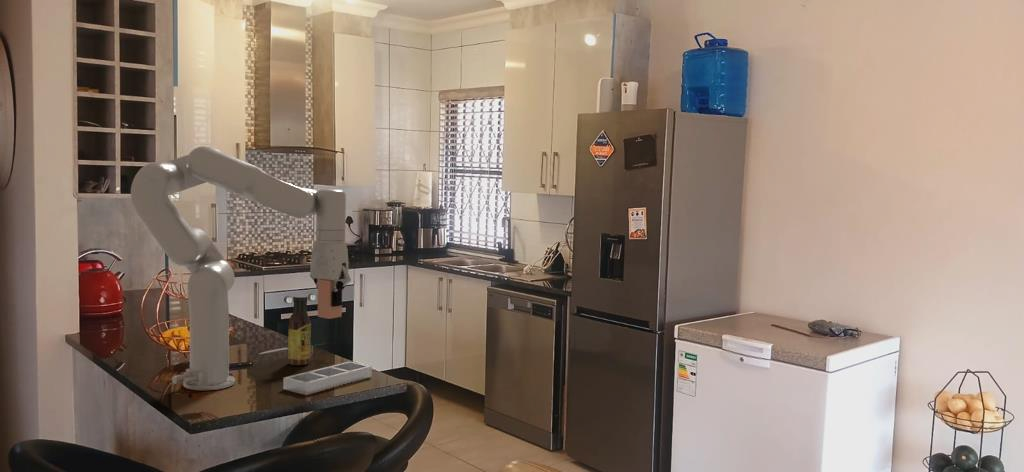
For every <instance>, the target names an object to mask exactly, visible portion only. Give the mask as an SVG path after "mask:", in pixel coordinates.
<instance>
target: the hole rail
mask: <svg viewBox="0 0 1024 472" xmlns="http://www.w3.org/2000/svg"><path fill="white" fill-rule="evenodd" d="M372 367H373V366H372V365H367V364H362V363H358V362H354V361H350V360H349V361H346V362H341V363H338V364H334V365H330V366H325V367H321V368H318V369H313V370H309V371H305V372H301V373H298V374H293V375H289V376H285V377H283V390H286V391H289V392H293V393H296V394H301V395H305V396H308V395H311V394H316V393H318V392H323V391H326V389H327V390H330V389H333V387H334V388H337V387H340V385H341V386H344V385H343V384H345V385H347V383H348V384H350V383H351V382H352V383H355V382H358V381H362V380H366V379H369V378H372V377H373V376H372V375H373V374H372V373H373V372H372V371H373V368H372ZM352 383H351V384H352Z"/></svg>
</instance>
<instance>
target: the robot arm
mask: <svg viewBox="0 0 1024 472" xmlns="http://www.w3.org/2000/svg"><path fill="white" fill-rule="evenodd" d="M205 183H208V184H211V185H212V186H213V185H214V186H216V187H219V188H221V189H224V190H226V191H229V192H230V193H232V194H236V195H238V196H241V197H243V198H245V199H248V200H250V201H253V202H256V203H259V204H260V205H262V206H265V207H268V208H270V209H272V210H274V211H276V212H277V211H278V212H279V213H282V214H285V215H287V216H290V217H292V218H300V219H302V218H305V217H307V216H314V215H315V216H316V217H315V223H316V224H315V240H314V241H313V243H312V244H313V245H312V249H311V255H310V256H311V257H310V271H309V272H310V274H309V276H310V278H311V279H312V280H313V282H314V285H315V289H316V290H318V279H324V280H332V285H333V291H332V303H331V305H332V307H335V306H341V305H342V306H343V292H344V290H345V288H346V286H347V285H349V284H350V282H352V278H351V277H350V275H349V251H348V244H347V242H346V213H347V210H346V209H347V208H346V206H347V203H346V201H347V198H346V197H347V196H346V195H347V194H346V192H345V191H344V190H342V189H334V188H331V189H329V188H327V189H314V188H308V187H299V186H295V185H293V184H292V183H289V182H286V181H283V180H281V179H279V178H276V177H274V176H272V175H270V174H269V173H267V172H265V171H264V170H262V169H261V168H260V167H258V166H256V165H253V164H251V163H249V162H246V161H243V160H242V159H239V158H236V157H234V156H232V155H229V154H226V153H225V152H222V151H220V150H219V149H218V148H215V147H210V146H203V145H202V146H198V147H195V148H193V149H192V150H191V151H190V152H189V153H188V154H186V155H184V156H183V155H182V156H180V157H177V158H174V159H172V160H169V161H153V162H149V163H147V164H145V165H144V166H142V167H141V168H140V169H139V170H138V171H137V173H136V174H135V176H134V178H133V179H132V182H131V187H130V198H131V203H132V206H133V208H134V210H135V212H136V213H137V215H138V217H140V219H141V221H142V223H144V225H145V226H146V227H147V229H148V231H149V232H150V233H151V235H152V236H153V238H154V239H155V241H156V242H157V243H158V245H159V246H160V247H161V249H162V250H163V252H164V253H165V254H166V256H167V257H168V259H169V260H170V261H171V262H172V263H173V264H175V265H177V266H181V267H186V268H187V270H188V271H189V273H190V275H189V279H188V282H187V298H188V300H187V301H188V310H189V368H186V369H185V372H184V373H183V374H178V375H174V376H172V379H171V381H172V383H173V384H175V385H176V384H179V383H182V382H183V387H184V389H187V390H193V391H215V390H222V389H226V388H230V387H232V386H233V385H235V383H236V378H235V377H234V376H232V375H230V316H229V315H230V314H229V313H230V311H229V295H228V294H229V291H230V290H231V289H232V287H233V285H234V283H235V272H234V269H233V268H232V266H231V264H230V263H229V262H228V260H227V259H226V257H225V256H224V255H223V253H222V252H221V250H220V249H219V248H218V247H217V245H216V244H215V242H214V241H213V239H212V238H211V237H210V236H209V235H208V233H207V232H205V231H204V230H203V229H200V228H198V227H194V226H191V225H190V224H189V223H188V221H186V219H185V218H184V216H183V215H182V213H181V212H180V211H179V209H178V208H177V207H176V205H174V204H173V202H172V201H171V199H170V197H169V195H174V194H176V193H180V192H182V191H185V190H188V189H192V188H194V187H197V186H200V185H203V184H205ZM337 282H339V284H338V285H337Z"/></svg>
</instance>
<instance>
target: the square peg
mask: <svg viewBox="0 0 1024 472" xmlns="http://www.w3.org/2000/svg"><path fill="white" fill-rule="evenodd" d="M338 284H339V282H337V285H338ZM332 291H333V285H332V280H324V279H318V289H317V317H318V318H323V319H329V320H330V319H337V318H342V317H343V316H342V315H343V313H342V312H343V304H342V305H341V306H335V307H332V305H331V303H332Z"/></svg>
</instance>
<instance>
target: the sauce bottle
mask: <svg viewBox="0 0 1024 472" xmlns="http://www.w3.org/2000/svg"><path fill="white" fill-rule="evenodd" d="M292 301H293V310H292V311H293V313H292V314H291V315H290V317H289V319H288V321H289V323H288V333H287V334H288V340H287V346H288V347H287V348H288V350H287V358H288V364H289V365H290V366H304V365H305V366H306V365H308V364H309V363H310V359H311V329H312V322H311V320H310V317H309V313H308V309H307V308H308V305H307V304H308V303H307V302H308V296H307V295H294V296H293V297H292Z"/></svg>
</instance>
